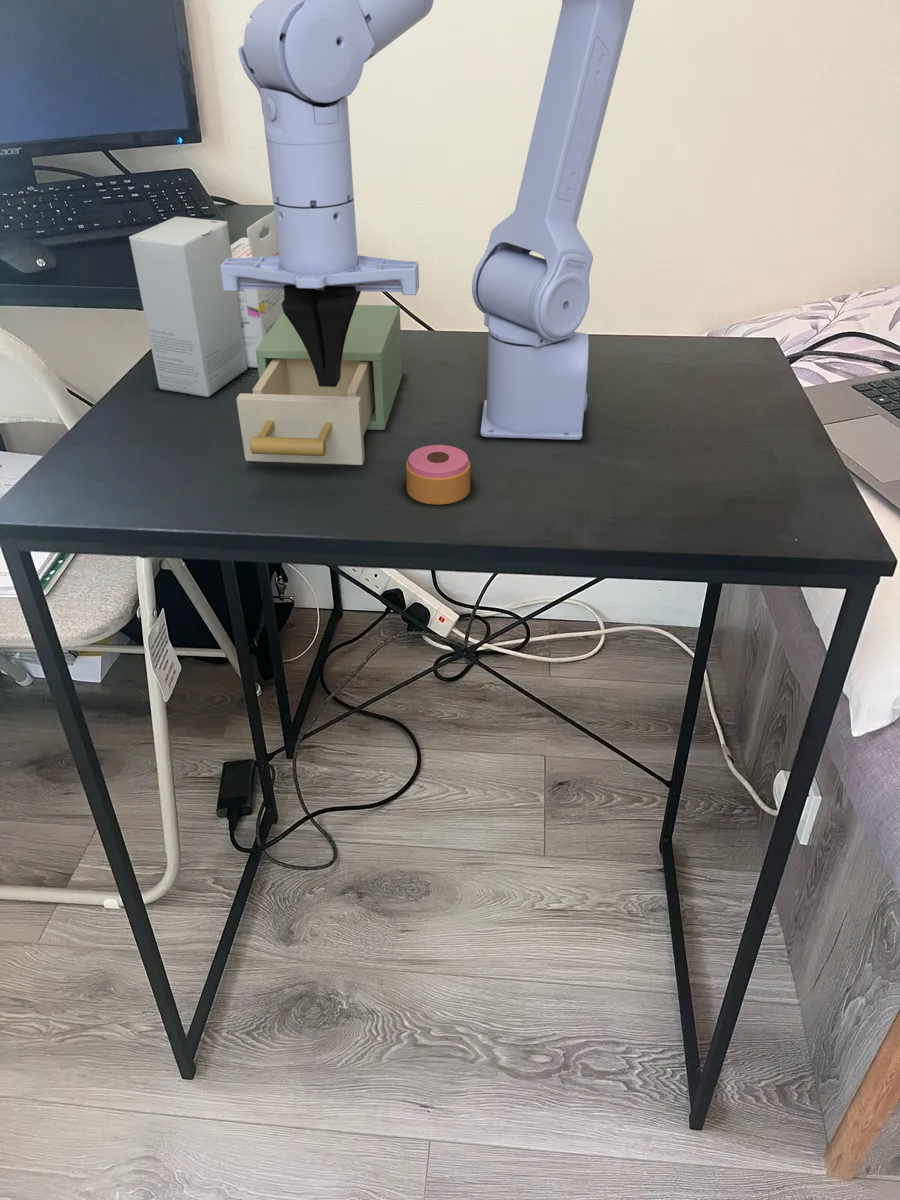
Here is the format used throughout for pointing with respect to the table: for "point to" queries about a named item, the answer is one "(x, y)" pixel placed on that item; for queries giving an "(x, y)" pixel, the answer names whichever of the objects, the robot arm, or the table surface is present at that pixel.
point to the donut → (438, 474)
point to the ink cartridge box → (258, 304)
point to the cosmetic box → (189, 304)
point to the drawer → (307, 414)
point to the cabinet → (351, 351)
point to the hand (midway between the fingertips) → (329, 382)
